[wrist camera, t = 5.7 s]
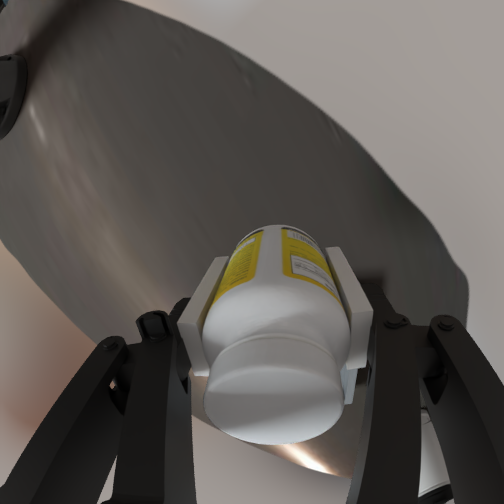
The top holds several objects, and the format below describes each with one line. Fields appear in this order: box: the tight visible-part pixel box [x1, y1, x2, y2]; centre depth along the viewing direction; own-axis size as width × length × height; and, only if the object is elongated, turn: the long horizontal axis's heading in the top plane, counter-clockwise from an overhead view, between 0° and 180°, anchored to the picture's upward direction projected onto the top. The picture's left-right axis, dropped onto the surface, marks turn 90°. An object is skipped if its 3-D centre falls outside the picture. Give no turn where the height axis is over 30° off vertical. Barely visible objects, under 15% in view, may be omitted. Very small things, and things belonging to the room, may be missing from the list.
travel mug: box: [418, 409, 453, 504], centre depth 26 cm, size 6×7×20 cm
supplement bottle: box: [202, 225, 351, 445], centre depth 11 cm, size 5×5×10 cm
